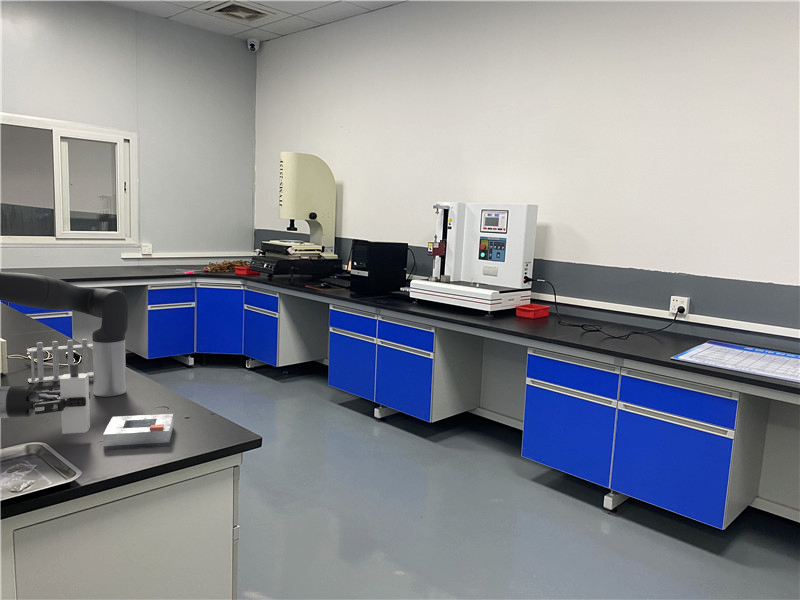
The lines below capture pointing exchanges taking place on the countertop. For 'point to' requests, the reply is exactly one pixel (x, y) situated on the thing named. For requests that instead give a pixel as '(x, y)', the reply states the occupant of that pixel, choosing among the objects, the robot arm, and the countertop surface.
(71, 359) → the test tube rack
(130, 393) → the countertop surface
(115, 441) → the socket box
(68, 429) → the plug
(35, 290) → the robot arm
